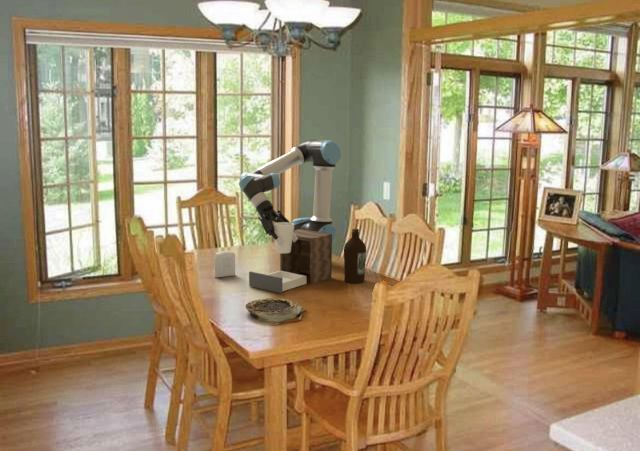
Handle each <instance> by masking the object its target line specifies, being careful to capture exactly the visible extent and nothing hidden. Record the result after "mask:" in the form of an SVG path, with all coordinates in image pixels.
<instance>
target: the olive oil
mask: <svg viewBox="0 0 640 451" xmlns="http://www.w3.org/2000/svg"><path fill="white" fill-rule="evenodd" d="M359 229H360V228H352V229H351V231H352V232H351V237H350V238H349V239H348V241H347V242H345V244H344V247H343V263H344V264H343V265H344V270H343V271H344V276H343V277H344V282H345V283H349V284H362V283H364V282H365V277H366V260H367V245H366V243H365V242H363V240H362V239H361V238H360V232H359V231H360V230H359Z"/></svg>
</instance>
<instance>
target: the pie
mask: <svg viewBox="0 0 640 451" xmlns="http://www.w3.org/2000/svg"><path fill="white" fill-rule="evenodd" d="M245 309H246V310H247V311H248V313H249V314H250V316H251V317H252V318H253V319H255V320H257V321H263V322H265V323H275V324H274V325H275V326H276V325H279V324H280V323H279V322H281V324H282V323H283V324H285V323H286V324H287V323H288V320H289V321H290V320H291V319H295V318H296V317H297V319H298V320H299V321H301V320H302V315H303V313H304V312H305V311H306V308H303V307H302V306H301V305H300V304H299V303H298V302H297V301H295V300H289V299H284V298H278V297H277V298H276V297H269V298H262V299H260V298H259V299H255V300H251V301H249V302H247V303H246V304H245ZM301 312H302V313H301ZM298 316H299V317H298ZM285 321H286V322H285ZM276 322H277V323H276ZM294 322H296V320H294V321H292V323H294Z"/></svg>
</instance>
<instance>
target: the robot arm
mask: <svg viewBox="0 0 640 451" xmlns="http://www.w3.org/2000/svg"><path fill="white" fill-rule="evenodd" d="M341 154H342V151H341V148H340V146H339V145H338V143H337V142H335V141H333V140H329V139H327V140H326V139H309V140H306V141H304V142H301V143H300V144H297V145H295V146H294V147H292V148H290V151H289V152H287V153H285V154H283V155H280V156H278V157H277V158H275V159H273V160H271V161H270V162H268V163H266V164H264V165H262V166H260V167H258V168H256V169H254V170H252V171H251V172H250V171H247V172H243V173H242V174H241V175H240V177H239V182H238V185H239V188H240V189H241V191H242V192H243V194H244V195H245V196H246V198H247V199H248V201H249V202H250V203H251V205H252V206H253V207H254V209H255V211H256V212H257V213H258V217H257V218H258V220H259V221H260V223H261V225H262V228H263V229H264V232H265V233H266V234H267V235H268V236H272V239H274V241H275V240H276V241H277V243H278V244H279V246H281V245H282V244H283V243H284V241H283V240H282V238H281V237H280V236H279V234H278V233H277V231H275V232H274V227H273V224H274V223H278V222H290V221H289V219H288V218H286V217H285V215H283V213H282V211H281V210H280V209H279V210H277V211H276V210H274V205H273V203H272V201H271V200H269V198H268V197H267V195H266V194H265V193H267V192H269V191H273V190H276V189H277V188H279V187H280V185H281V179H280V177H279V175H280V174H282V173H284V172H285V171H288V170H289V169H292V168H293V167H295V166H297V165H303V164H305V163H311V162H312V167H313V168H314V170H315V171H314V191H313V207H312V208H313V210H312V216H311V217H299V218H294V219H292V222H291V223H294V230H299V229H302V230H309V231H316V232H322V233H329V234H332V243H333V242H334V241H335V240H336V237H337V230H336V228H335V226H334V225H333V219H332V218H331V217H330V216H331V214H330V213H331V196H332V195H331V194H332V183H333V182H332V180H333V178H332V177H333V170H334V169H335V168H336V164H338V163H339V161H340V160H341V158H342V157H341V156H342V155H341ZM273 222H274V223H273ZM294 230H293V231H294ZM297 239H298V238H297V236H296V235H295V233H294V232H293V237H292V241H293V242H296V240H297Z"/></svg>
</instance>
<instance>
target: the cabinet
mask: <svg viewBox="0 0 640 451" xmlns="http://www.w3.org/2000/svg"><path fill="white" fill-rule="evenodd" d="M293 232H294V233H295V235H296V236H297V238H298V239H297V240H296V242H293V241H292V245H291V252H290V253H279V255H280V256H279V257H280V258H279V262H280V263H279V264H280V265H279V266H280V267H279V268H280V270H279V271H285V272H290V273H295V274H300V273H301V274H302V273H303V274H307V275H309V284H311V285H313V284H317V283H319V282H320V283H321V282H323V281H325V280H328V279H331V278H332V266H333V265H332V262H333V261H332V258H333V257H332V255H333V254H332V253H333V252H332V251H333V250H332V249H333V242H332V234H329V233H322V232H316V231H309V230H302V229H299V230H294V231H293Z"/></svg>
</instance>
